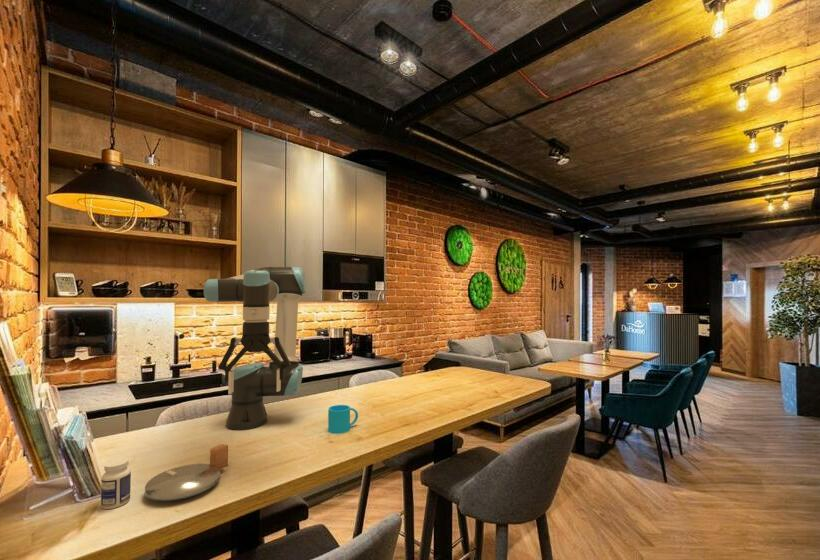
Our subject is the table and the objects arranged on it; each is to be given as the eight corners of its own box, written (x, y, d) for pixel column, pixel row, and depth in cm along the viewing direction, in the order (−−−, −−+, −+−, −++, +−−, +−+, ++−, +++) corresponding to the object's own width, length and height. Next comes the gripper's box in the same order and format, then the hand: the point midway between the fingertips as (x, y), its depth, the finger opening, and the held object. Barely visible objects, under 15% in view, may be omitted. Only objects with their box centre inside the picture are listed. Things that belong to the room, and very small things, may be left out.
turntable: (130, 490, 95) (131, 467, 95) (206, 459, 113) (207, 439, 113) (169, 508, 87) (170, 482, 87) (244, 471, 105) (245, 450, 105)
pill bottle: (126, 494, 96) (127, 455, 96) (133, 502, 92) (134, 461, 92) (97, 504, 91) (99, 462, 92) (103, 512, 88) (105, 469, 88)
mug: (333, 435, 136) (333, 412, 136) (324, 428, 142) (324, 407, 143) (362, 428, 143) (362, 406, 143) (353, 422, 149) (353, 402, 150)
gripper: (207, 322, 108) (205, 397, 107) (297, 321, 112) (296, 392, 111) (216, 321, 115) (214, 390, 114) (299, 319, 120) (299, 386, 119)
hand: (255, 391), depth 113 cm, fingers open, 13 cm apart
